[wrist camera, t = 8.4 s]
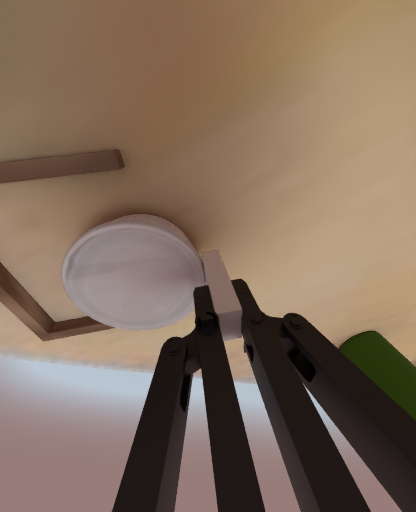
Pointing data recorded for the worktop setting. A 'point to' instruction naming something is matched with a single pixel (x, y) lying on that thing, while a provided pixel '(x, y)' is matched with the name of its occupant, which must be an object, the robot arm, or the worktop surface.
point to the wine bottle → (384, 367)
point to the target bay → (5, 285)
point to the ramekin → (133, 273)
